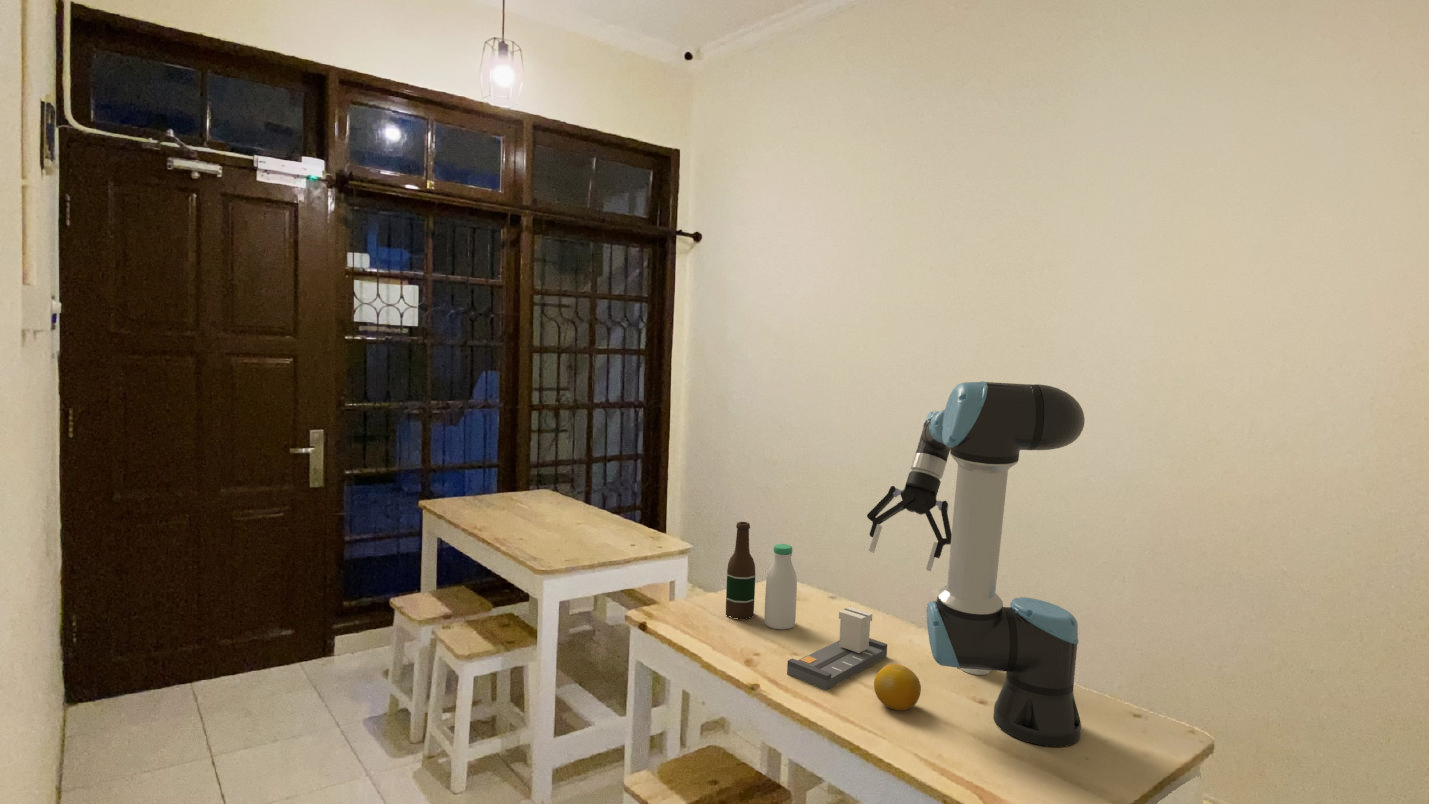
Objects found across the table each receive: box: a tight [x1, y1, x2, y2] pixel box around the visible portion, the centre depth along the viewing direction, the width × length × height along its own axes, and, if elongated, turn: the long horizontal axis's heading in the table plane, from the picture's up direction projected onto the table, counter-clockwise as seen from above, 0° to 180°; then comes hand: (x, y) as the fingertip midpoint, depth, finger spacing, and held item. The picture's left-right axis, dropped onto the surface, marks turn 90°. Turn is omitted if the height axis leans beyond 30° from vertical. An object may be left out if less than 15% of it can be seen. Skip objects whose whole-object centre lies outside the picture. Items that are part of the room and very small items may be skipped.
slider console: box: [786, 637, 888, 691], centre depth 167 cm, size 24×10×3 cm, turn 137°
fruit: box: [873, 663, 922, 711], centre depth 149 cm, size 9×8×8 cm
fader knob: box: [838, 606, 873, 653], centre depth 171 cm, size 5×6×8 cm
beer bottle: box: [725, 521, 756, 620], centre depth 194 cm, size 8×8×24 cm
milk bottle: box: [763, 543, 798, 630], centre depth 189 cm, size 8×8×20 cm
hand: (899, 560), depth 177 cm, fingers open, 13 cm apart
